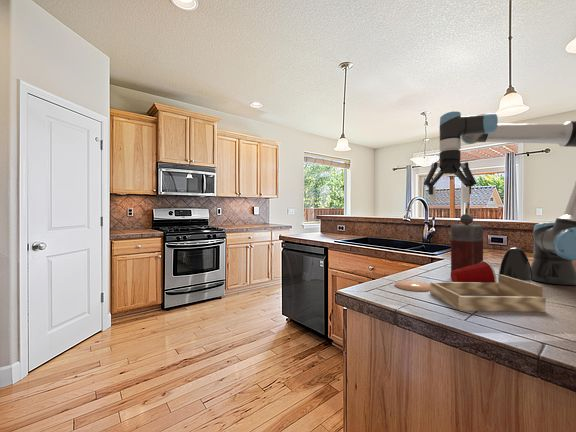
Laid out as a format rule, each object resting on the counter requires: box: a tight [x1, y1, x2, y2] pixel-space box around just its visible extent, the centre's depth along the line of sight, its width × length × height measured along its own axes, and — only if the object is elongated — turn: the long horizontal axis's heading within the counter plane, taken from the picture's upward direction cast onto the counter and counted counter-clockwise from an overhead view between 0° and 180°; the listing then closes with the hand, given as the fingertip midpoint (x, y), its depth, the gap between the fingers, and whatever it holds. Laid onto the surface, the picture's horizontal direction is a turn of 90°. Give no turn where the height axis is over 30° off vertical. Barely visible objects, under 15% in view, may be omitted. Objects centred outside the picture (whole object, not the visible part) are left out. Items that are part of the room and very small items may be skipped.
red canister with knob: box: [450, 213, 484, 272], centre depth 121 cm, size 9×11×28 cm
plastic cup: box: [450, 260, 498, 283], centre depth 104 cm, size 11×11×12 cm
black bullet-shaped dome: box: [498, 246, 533, 283], centre depth 109 cm, size 10×10×15 cm
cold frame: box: [429, 274, 546, 313], centre depth 89 cm, size 24×18×7 cm
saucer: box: [394, 279, 430, 292], centre depth 108 cm, size 13×13×1 cm
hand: (449, 202), depth 115 cm, fingers open, 13 cm apart
